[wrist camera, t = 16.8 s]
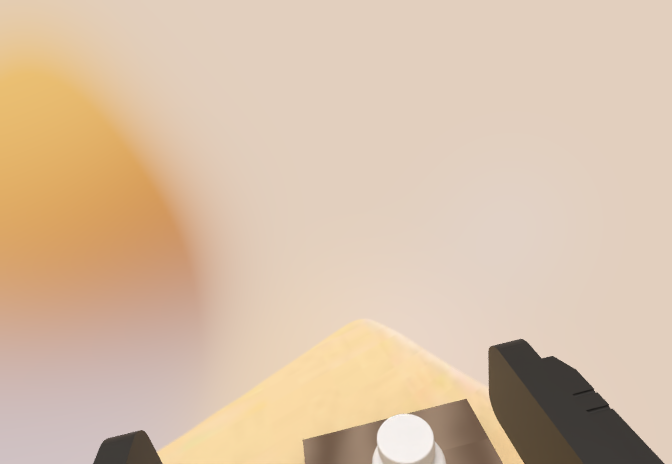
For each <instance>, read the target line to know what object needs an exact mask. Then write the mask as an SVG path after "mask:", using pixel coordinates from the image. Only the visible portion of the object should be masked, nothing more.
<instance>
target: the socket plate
mask: <svg viewBox="0 0 672 464" xmlns="http://www.w3.org/2000/svg"><path fill="white" fill-rule="evenodd" d="M408 414H412V415H415V416H418V417H420V418H422V419H423V420H424V421H426V422H427V423H428V425H429V426H430V428H431V429H432V432H433V435H434V441H435V442H436V443H437V444H438V445H439V447H440V448H441V450H442V452H443V454H444V457H445V460H446V464H503V463H502V461H501V460H500V458H499V456H498V454H497V453H496V451H495V449H494V447H493V445H492V444H491V442H490V440H489V438H488V436H487V435H486V433H485V431H484V429H483V428H482V426H481V424H480V422H479V420H478V419H477V417H476V415H475V413H474V412H473V410H472V408H471V406H470V404H469V403H468V401H467V399H464V400H460V401H456V402H452V403H448V404H444V405H440V406H436V407H432V408H428V409H424V410H420V411H416V412H412V413H408ZM386 420H387V419H385V420H381V421H377V422H373V423H369V424H365V425H361V426H357V427H353V428H349V429H345V430H341V431H337V432H333V433H329V434H325V435H321V436H317V437H313V438H309V439H305V440H303V445H304V455H305V464H372V458H373V454H374V451H375V449H376V447H377V433H378V430H379V428H380V426H381V425H382V424H383V423H384V422H385V421H386Z"/></svg>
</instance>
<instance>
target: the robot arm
mask: <svg viewBox="0 0 672 464" xmlns="http://www.w3.org/2000/svg"><path fill="white" fill-rule="evenodd" d="M489 396H490V401H491V405H492V408H493V411H494V413H495V415H496V417H497V419H498V421H499V423H500V424H501V426H502V428H503V429H504V431H505V433H506V434H507V436H508V438H509V439H510V441H511V442H512V444H513V446H514V447H515V449H516V451H517V452H518V454H519V455H520V457H521V459H522V460H523V462H524V464H664V463H663V462H662V461H661V460H660V459H659V457H658V456H657V455H656V454H655V453H654V452H653V451H652V450H651V449H650V448H649V447H648V446H647V445H646V444H645V443H644V442H643V440H642V439H641V438H640V437H639V436H638V435H637V434H636V433H635V432H634V431H633V430H632V429H631V428H630V427H629V426H628V425H627V423H626V422H625V421H624V420H623V419H622V418H621V417H620V416H619V415H618V414H617V413H616V412H615V411H614V410H613V409H610V407H609V404H608V403H607V402H606V401H605V400H604V399H603V398H602V397H601V396H600V395H599V394H598V393H595V391H594V388H593V387H592V386H591V385H590V384H589V383H588V382H587V381H586V380H585V379H584V378H583V377H582V376H581V374H580V373H579V372H578V371H577V370H576V369H574V368H572V367H570V366H569V365H567V364H565V363H564V362H562V361H560V360H558V359H557V358H555V357H553V356H551V357H546V358H542V359H541V357H540V356H539V355H538V354H537V353H536V352H535V351H534V349H533V348H532V347H531V346H530V345H529V344H528V343H527V342H526V341H525V340H523V339H519V340H515V341H511V342H507V343H503V344H499V345H495V346H491V347H490V348H489ZM93 464H162V462H161V460H160V458H159V456H158V454H157V452H156V450H155V448H154V447H153V445H152V443H151V441H150V439H149V437H148V435H147V434H146V433H145V432H144V431H142V430H141V431H137V432H132V433H128V434H124V435H120V436H116V437H112V438H108V439H106V440H104V441H103V443H102V444H101V446H100V448H99V451H98V453H97V456H96V458H95V461H94V463H93Z"/></svg>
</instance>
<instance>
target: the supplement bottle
mask: <svg viewBox="0 0 672 464" xmlns="http://www.w3.org/2000/svg"><path fill="white" fill-rule="evenodd" d="M372 464H446V460H445V457H444V454H443V452H442V450H441V448H440V447H439V445H438V444H437V443H436V442H435V441H434V435H433V432H432V429H431V428H430V426H429V425H428V423H427V422H426V421H424V420H423V419H422V418H420V417H418V416H415V415H412V414H398V415H395V416H392V417H390V418H388V419H387V420H386V421H385V422H384V423H383V424H382V425H381V426H380V428H379V430H378V433H377V447H376V449H375V451H374V454H373V458H372Z"/></svg>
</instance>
